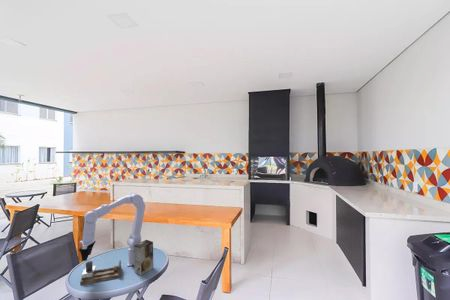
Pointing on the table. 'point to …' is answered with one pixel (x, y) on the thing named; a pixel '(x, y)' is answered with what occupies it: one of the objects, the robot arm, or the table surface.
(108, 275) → the nut press
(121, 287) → the table surface
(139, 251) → the coffee box
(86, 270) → the press carriage
